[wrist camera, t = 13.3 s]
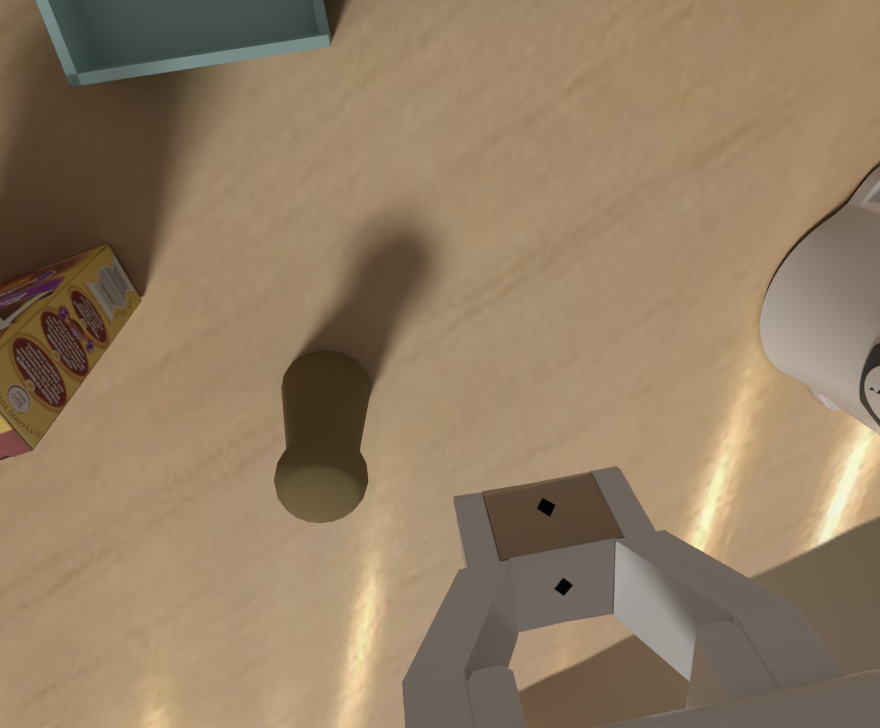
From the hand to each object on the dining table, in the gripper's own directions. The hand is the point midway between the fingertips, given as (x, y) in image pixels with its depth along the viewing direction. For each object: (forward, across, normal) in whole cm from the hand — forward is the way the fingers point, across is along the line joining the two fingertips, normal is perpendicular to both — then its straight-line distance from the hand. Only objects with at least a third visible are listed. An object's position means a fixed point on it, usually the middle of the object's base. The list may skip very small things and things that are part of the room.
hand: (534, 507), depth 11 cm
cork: (+29, +8, +15) cm, 34 cm away
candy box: (+29, +22, +5) cm, 37 cm away
